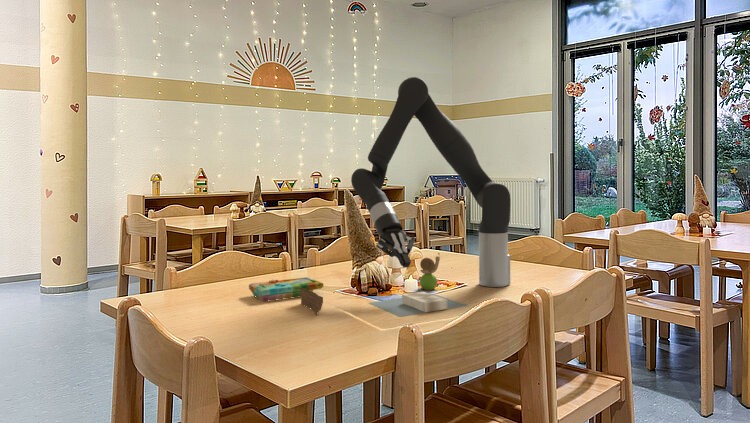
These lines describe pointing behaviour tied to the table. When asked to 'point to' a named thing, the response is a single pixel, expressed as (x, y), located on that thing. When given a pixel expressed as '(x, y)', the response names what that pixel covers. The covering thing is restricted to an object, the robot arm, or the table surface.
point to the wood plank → (311, 300)
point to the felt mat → (404, 310)
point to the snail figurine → (429, 273)
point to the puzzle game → (283, 288)
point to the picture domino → (424, 301)
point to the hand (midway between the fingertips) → (407, 265)
